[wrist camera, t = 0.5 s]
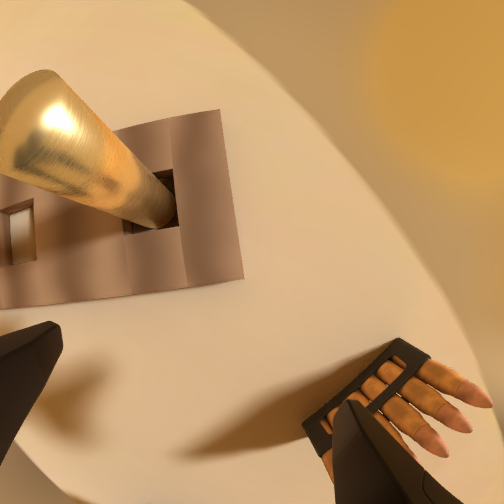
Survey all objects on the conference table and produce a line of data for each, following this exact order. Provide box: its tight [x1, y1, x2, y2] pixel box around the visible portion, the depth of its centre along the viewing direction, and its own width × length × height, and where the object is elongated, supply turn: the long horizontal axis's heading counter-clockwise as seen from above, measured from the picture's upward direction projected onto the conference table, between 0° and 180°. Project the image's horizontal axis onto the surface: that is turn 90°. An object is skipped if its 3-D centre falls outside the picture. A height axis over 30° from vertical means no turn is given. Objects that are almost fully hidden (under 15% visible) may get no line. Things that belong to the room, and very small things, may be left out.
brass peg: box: [0, 70, 176, 229], centre depth 13 cm, size 3×3×16 cm
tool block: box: [0, 109, 244, 309], centre depth 20 cm, size 24×12×2 cm, turn 99°
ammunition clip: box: [302, 338, 493, 484], centre depth 15 cm, size 11×2×12 cm, turn 131°
